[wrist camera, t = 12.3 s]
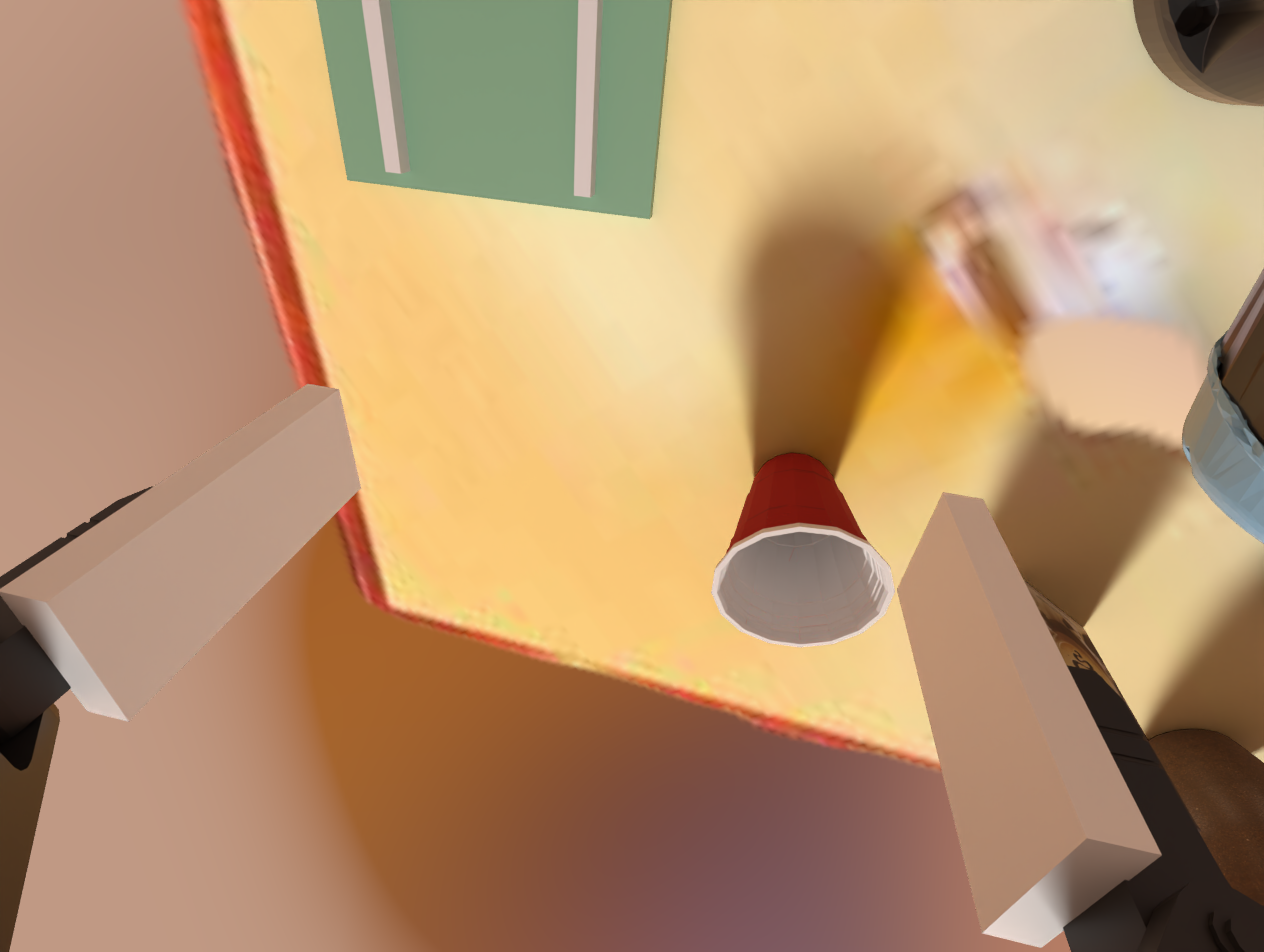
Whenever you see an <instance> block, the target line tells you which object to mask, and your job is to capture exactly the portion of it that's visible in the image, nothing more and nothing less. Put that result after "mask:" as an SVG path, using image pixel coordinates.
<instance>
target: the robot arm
mask: <svg viewBox="0 0 1264 952" xmlns="http://www.w3.org/2000/svg"><path fill="white" fill-rule="evenodd" d="M1133 5H1134V12H1135V18H1136V23H1137V26H1138V30H1139V33H1140V36H1141V39H1142V41H1143V44H1144V46H1145V48H1146V50H1147V52H1148V54H1149V55H1150V57H1151V58H1152V60H1153V62H1154V63H1155V64H1156V66H1157V67H1158V68H1159V69H1160V70H1161V72H1162V73H1163V74H1164V75H1165V76H1167V77H1168V78H1169V79H1170V80H1171V81H1172V82H1174V83H1175V84H1176V85H1178V86H1179V87H1181V88H1182V89H1184V90H1186V91H1187V92H1189V93H1192V94H1194V95H1196V96H1198V97H1201V98H1204V99H1207V100H1211V101H1215V102H1219V103H1226V104H1233V105H1250V106H1264V0H1133ZM1207 370H1208V374H1207V376H1206V378H1205V380H1204V382H1203V384H1202V386H1201V388H1200V390H1199V392H1198V394H1197V396H1196V399H1195V401H1194V403H1193V405H1192V407H1191V409H1190V411H1189V413H1188V415H1187V418H1186V420H1185V423H1184V427H1183V433H1182V444H1183V450H1184V452H1185V455H1186V457H1187V459H1188V461H1189V462H1190V464H1191V467H1192V474H1193V476H1194V478H1195V479H1196V481H1197V482H1198V484H1199V485H1200V486H1201V488H1202V489H1203V490H1204V492H1205V493H1206V494H1207V495H1208V496H1209V498H1210V499H1211V500H1212V501H1213V502H1214V503H1215V504H1216V505H1217V506H1218V507H1219V508H1220V509H1221V510H1222V511H1223V512H1224V513H1225V514H1226V515H1227V516H1228V517H1230V518H1231V519H1232V520H1233V521H1234V522H1235V523H1236V524H1238V525H1239V526H1240V527H1241V528H1243V529H1244V530H1245V531H1247V532H1248V533H1249V534H1251V535H1252V536H1253V537H1255V538H1256V539H1258V540H1259V541H1260V542H1262V543H1263V544H1264V269H1263V271H1262V272H1261V274H1260V276H1259V278H1258V279H1257V281H1256V283H1255V285H1254V286H1253V288H1252V290H1251V292H1250V293H1249V295H1248V297H1247V299H1246V300H1245V302H1244V304H1243V306H1242V307H1241V309H1240V311H1239V313H1238V314H1237V316H1236V318H1235V320H1234V321H1233V323H1232V325H1231V327H1230V328H1229V330H1227V331H1226V333H1225V334H1224V335H1223V336H1222V337H1221V338H1220V339H1219V340H1218V341H1217V342H1216V344H1215V345H1214V347H1213V348H1212V351H1211V353H1210V356H1209V361H1208V367H1207ZM360 488H361V486H360V482H359V477H358V473H357V468H356V464H355V459H354V455H353V450H352V446H351V441H350V437H349V432H348V428H347V423H346V419H345V414H344V410H343V405H342V401H341V396H340V392H339V389H335V388H329V387H323V386H317V385H311V384H307V385H305V386H304V387H302V388H301V389H299V390H298V391H296V392H295V393H293V394H292V395H290V396H289V397H287V398H286V399H284V400H283V401H281V402H280V403H278V404H277V405H275V406H274V407H272V408H271V409H269V410H268V411H266V412H265V413H263V414H262V415H260V416H259V417H257V418H256V419H254V420H253V421H251V422H250V423H248V424H247V425H245V426H244V427H242V428H241V429H239V430H238V431H236V432H235V433H233V434H232V435H230V436H229V437H227V438H226V439H224V440H223V441H221V442H220V443H218V444H217V445H215V446H214V447H212V448H211V449H210V450H208V451H206V452H205V453H203V454H202V455H200V456H199V457H198V458H196V459H194V460H193V461H191V462H190V463H188V464H187V465H185V466H184V467H182V468H181V469H179V470H178V471H176V472H175V473H174V474H172V475H170V476H169V477H167V478H166V479H165V480H163V481H161V482H160V483H158V484H157V485H155V486H154V487H149V488H147V489H144V490H142V491H139V492H137V493H134V494H132V495H130V496H127V497H125V498H122V499H120V500H118V501H116V502H115V503H113V504H111V505H110V506H108V507H107V508H105V509H104V510H102V511H101V512H99V513H98V514H96V515H95V516H93V517H91V518H90V522H89V523H86V522H84V523H82V524H81V525H79V526H78V527H76V528H75V529H73V530H72V531H70V532H68V533H67V537H66V538H59V539H58V540H56V541H55V542H53V543H52V544H50V545H49V546H47V547H45V548H44V549H43V550H41V551H39V552H38V553H36V554H35V555H33V556H32V557H30V558H29V559H27V560H25V561H24V562H22V563H21V564H19V565H18V566H16V567H15V568H13V569H12V570H10V571H9V572H7V573H6V574H4V575H2V576H1V577H0V952H9V949H10V945H11V940H12V936H13V931H14V927H15V922H16V918H17V913H18V909H19V904H20V899H21V895H22V890H23V886H24V881H25V877H26V872H27V868H28V863H29V859H30V854H31V849H32V845H33V840H34V836H35V831H36V827H37V822H38V817H39V813H40V808H41V804H42V799H43V794H44V790H45V785H46V781H47V777H48V771H49V767H50V763H51V758H52V754H53V749H54V745H55V739H56V735H57V731H58V726H59V722H60V718H59V710H58V709H57V707H56V706H55V705H54V702H55V701H56V700H57V699H59V698H60V697H61V696H62V695H63V694H64V693H66V692H67V691H68V690H69V689H71V690H72V692H73V693H74V694H75V696H76V697H77V698H78V700H79V701H80V702H81V704H82V705H83V707H84V708H85V709H86V710H87V711H88V712H92V713H96V714H100V715H104V716H108V717H112V718H116V719H120V720H124V721H128V722H129V721H130V720H131V719H132V718H133V717H134V716H135V715H136V714H137V713H138V712H139V711H140V710H141V709H142V708H143V707H144V706H145V705H146V704H147V703H148V702H149V701H150V700H151V699H152V698H153V697H154V696H155V695H156V694H157V693H158V692H159V691H160V690H161V689H162V688H163V687H164V686H165V685H166V684H167V683H168V682H169V681H170V680H171V679H172V678H173V677H174V676H175V675H176V673H178V672H179V671H180V670H181V669H182V668H183V667H184V666H185V665H186V664H187V663H188V662H189V661H190V660H191V659H192V658H193V657H194V655H196V654H197V653H198V652H199V651H200V650H201V649H202V648H203V647H204V646H205V645H206V644H207V643H208V642H209V640H210V639H211V638H212V637H213V636H214V635H215V634H216V633H217V632H218V631H219V630H220V629H221V628H222V627H223V626H224V625H225V624H226V623H227V622H228V621H229V620H230V619H231V618H232V617H233V616H234V615H235V614H236V613H237V612H238V611H239V610H240V609H241V608H242V607H243V606H244V605H245V604H246V603H247V602H248V601H249V600H250V599H251V598H252V597H253V596H254V595H255V594H256V593H257V592H258V591H259V590H260V589H261V588H262V587H263V586H264V585H265V584H266V583H267V582H268V581H269V580H270V579H271V578H272V577H273V576H274V575H275V574H276V573H277V572H278V571H279V570H280V569H281V568H282V567H283V566H284V565H285V564H286V563H287V562H288V561H289V560H290V559H291V558H292V557H293V556H294V555H295V554H296V553H297V552H298V551H299V550H300V549H301V548H302V547H303V546H304V545H305V544H306V543H307V542H308V541H309V540H310V539H311V538H312V537H313V536H314V535H315V534H316V533H317V532H318V531H319V530H320V528H322V527H323V526H324V524H326V523H327V522H328V521H329V520H330V519H331V518H332V517H333V516H334V515H335V514H336V513H337V512H338V511H339V509H340V508H341V507H342V506H343V505H344V504H345V503H346V502H347V501H348V500H349V499H350V498H351V497H352V496H353V495H354V494H355V493H356V492H357V491H358V490H359V489H360ZM897 592H898V596H899V600H900V604H901V608H902V612H903V616H904V620H905V624H906V628H907V632H908V636H909V640H910V644H911V648H912V652H913V656H914V661H915V665H916V669H917V673H918V677H919V681H920V685H921V689H922V693H923V697H924V701H925V705H926V709H927V713H928V717H929V721H930V725H931V729H932V733H933V737H934V741H935V745H936V749H937V753H938V758H939V762H940V766H941V770H942V774H943V778H944V782H945V786H946V790H947V793H948V798H949V802H950V805H951V810H952V814H953V818H954V822H955V826H956V830H957V834H958V838H959V842H960V846H961V851H962V854H963V858H964V863H965V867H966V871H967V875H968V879H969V883H970V887H971V891H972V895H973V899H974V903H975V907H976V911H977V915H978V919H979V923H980V927H981V931H982V933H984V934H988V935H992V936H996V937H1000V938H1004V939H1008V940H1012V941H1016V942H1020V943H1024V944H1028V945H1032V946H1036V947H1040V948H1042V947H1043V946H1044V945H1045V944H1047V943H1048V942H1049V941H1051V940H1052V939H1053V938H1055V937H1056V936H1057V935H1058V934H1060V933H1061V932H1062V931H1064V932H1065V935H1066V938H1067V941H1068V944H1069V947H1070V950H1071V952H1264V906H1262V905H1261V904H1259V903H1257V902H1256V901H1254V900H1252V899H1251V898H1249V897H1247V896H1246V895H1244V894H1242V893H1241V892H1239V891H1237V890H1236V889H1233V888H1232V887H1231V886H1230V884H1229V883H1228V881H1227V880H1226V878H1225V877H1224V875H1223V873H1222V872H1221V870H1220V868H1219V866H1218V865H1217V863H1216V861H1215V859H1214V858H1213V856H1212V854H1211V852H1210V850H1209V849H1208V847H1207V845H1206V843H1205V842H1204V840H1203V838H1202V836H1201V835H1200V833H1199V831H1198V829H1197V828H1196V826H1195V824H1194V822H1193V820H1192V819H1191V817H1190V815H1189V813H1188V812H1187V810H1186V808H1185V806H1184V805H1183V803H1182V801H1181V799H1180V798H1179V796H1178V794H1177V792H1176V791H1175V789H1174V787H1173V785H1172V783H1171V782H1170V780H1169V778H1168V776H1167V775H1166V773H1165V771H1164V769H1160V768H1159V761H1158V759H1157V757H1156V755H1155V754H1154V752H1153V750H1152V748H1151V746H1150V745H1149V743H1148V741H1144V740H1143V735H1144V734H1143V732H1142V731H1141V729H1140V727H1139V725H1138V724H1137V722H1136V720H1135V718H1134V717H1133V715H1132V713H1131V711H1130V709H1129V708H1128V706H1127V704H1126V702H1125V701H1124V700H1123V699H1122V698H1121V697H1120V696H1119V695H1118V694H1117V693H1116V692H1115V691H1114V690H1113V689H1112V688H1111V687H1110V686H1109V685H1108V684H1107V683H1106V681H1105V680H1104V679H1103V678H1102V677H1101V676H1100V675H1099V674H1098V673H1097V672H1096V671H1093V670H1088V669H1083V668H1078V667H1073V666H1068V665H1066V663H1065V661H1064V659H1063V657H1062V655H1061V653H1060V651H1059V649H1058V647H1057V645H1056V643H1055V642H1054V640H1053V638H1052V636H1051V634H1050V632H1049V630H1048V628H1047V626H1046V624H1045V622H1044V620H1043V618H1042V616H1041V614H1040V612H1039V610H1038V608H1037V606H1036V604H1035V602H1034V600H1033V598H1032V596H1031V594H1030V592H1029V590H1028V588H1027V586H1026V584H1025V582H1024V580H1023V578H1022V576H1021V574H1020V572H1019V570H1018V568H1017V566H1016V564H1015V562H1014V560H1013V558H1012V556H1011V554H1010V552H1009V550H1008V548H1007V546H1006V544H1005V542H1004V540H1003V538H1002V536H1001V534H1000V532H999V530H998V528H997V526H996V524H995V522H994V520H993V518H992V516H991V514H990V512H989V510H988V508H987V506H986V504H985V502H984V500H983V499H979V498H973V497H968V496H962V495H956V494H950V493H944V492H943V493H942V496H941V498H940V500H939V502H938V504H937V506H936V508H935V510H934V512H933V515H932V517H931V519H930V521H929V523H928V525H927V527H926V529H925V531H924V534H923V536H922V538H921V540H920V542H919V544H918V546H917V548H916V550H915V553H914V555H913V557H912V559H911V561H910V563H909V565H908V567H907V569H906V572H905V574H904V576H903V578H902V580H901V582H900V584H899V586H898V588H897Z"/></svg>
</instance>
